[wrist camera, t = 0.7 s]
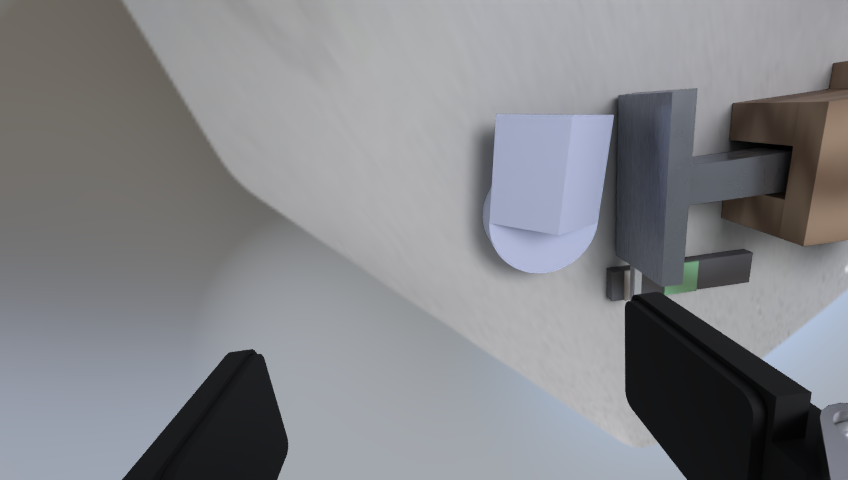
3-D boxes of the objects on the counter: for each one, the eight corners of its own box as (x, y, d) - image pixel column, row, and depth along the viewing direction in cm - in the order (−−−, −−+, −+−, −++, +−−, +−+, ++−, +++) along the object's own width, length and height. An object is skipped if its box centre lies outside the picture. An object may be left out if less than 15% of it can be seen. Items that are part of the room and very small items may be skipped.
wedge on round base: (487, 113, 33) (479, 259, 37) (506, 114, 26) (494, 290, 30) (594, 114, 33) (574, 258, 37) (638, 115, 27) (608, 289, 31)
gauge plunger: (618, 95, 32) (672, 91, 25) (746, 76, 32) (835, 67, 25) (615, 293, 38) (658, 332, 31) (724, 278, 38) (791, 314, 31)
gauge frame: (608, 96, 32) (667, 92, 25) (883, 55, 32) (1028, 39, 25) (606, 296, 38) (654, 342, 31) (839, 264, 38) (945, 302, 30)
